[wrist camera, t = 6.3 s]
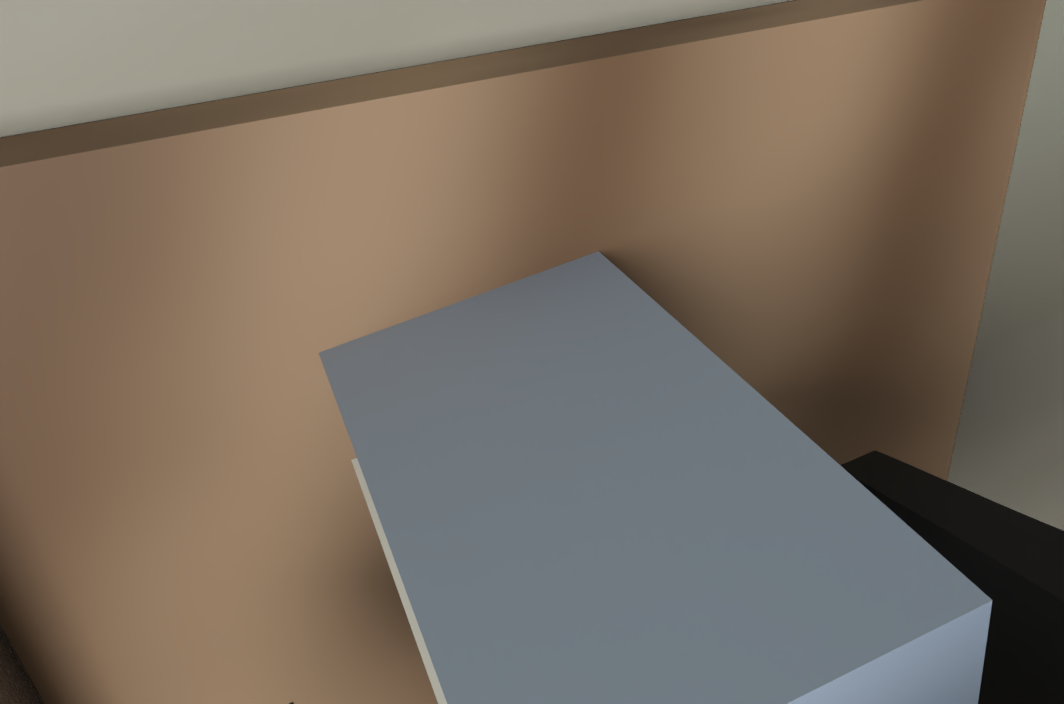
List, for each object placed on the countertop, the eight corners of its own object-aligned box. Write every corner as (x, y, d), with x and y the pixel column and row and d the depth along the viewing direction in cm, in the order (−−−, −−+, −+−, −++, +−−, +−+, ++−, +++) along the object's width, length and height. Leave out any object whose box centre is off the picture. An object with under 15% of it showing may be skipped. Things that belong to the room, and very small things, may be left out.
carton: (598, 250, 12) (993, 600, 7) (648, 553, 16) (941, 958, 10) (312, 355, 12) (489, 852, 6) (428, 651, 15) (613, 1153, 9)
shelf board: (987, -33, 14) (1050, -23, 13) (888, 540, 20) (927, 575, 19) (-196, 172, 10) (-230, 208, 9) (144, 819, 16) (144, 883, 15)
